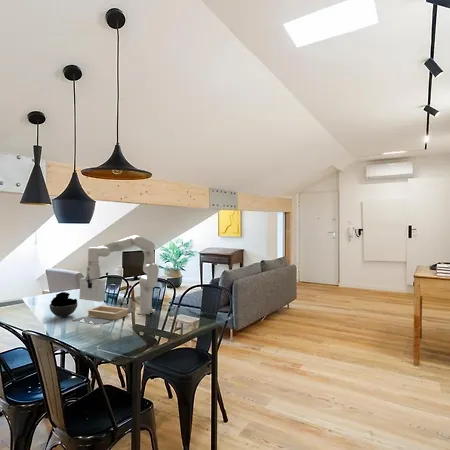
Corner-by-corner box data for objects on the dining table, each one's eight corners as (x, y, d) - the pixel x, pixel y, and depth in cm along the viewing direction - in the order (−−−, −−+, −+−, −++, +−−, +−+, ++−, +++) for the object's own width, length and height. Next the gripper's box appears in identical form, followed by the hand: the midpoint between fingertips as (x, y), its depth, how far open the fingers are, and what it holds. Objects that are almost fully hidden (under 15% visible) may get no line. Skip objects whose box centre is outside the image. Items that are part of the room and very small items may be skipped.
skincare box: (105, 300, 251) (105, 279, 251) (100, 302, 246) (100, 280, 246) (84, 297, 260) (85, 277, 260) (79, 299, 255) (79, 278, 255)
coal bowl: (71, 312, 278) (72, 289, 279) (81, 317, 264) (81, 293, 264) (45, 316, 264) (46, 292, 265) (54, 321, 250) (54, 296, 250)
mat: (111, 321, 253) (111, 320, 253) (101, 325, 243) (101, 324, 243) (83, 317, 263) (83, 316, 263) (72, 320, 253) (72, 320, 253)
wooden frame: (128, 314, 274) (129, 308, 274) (113, 320, 256) (114, 313, 257) (102, 311, 283) (102, 305, 283) (86, 316, 266) (86, 310, 266)
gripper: (88, 264, 244) (88, 289, 244) (105, 262, 260) (104, 286, 260) (80, 264, 247) (80, 288, 247) (97, 262, 263) (96, 285, 263)
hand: (92, 287), depth 253 cm, fingers closed on skincare box, 5 cm apart
